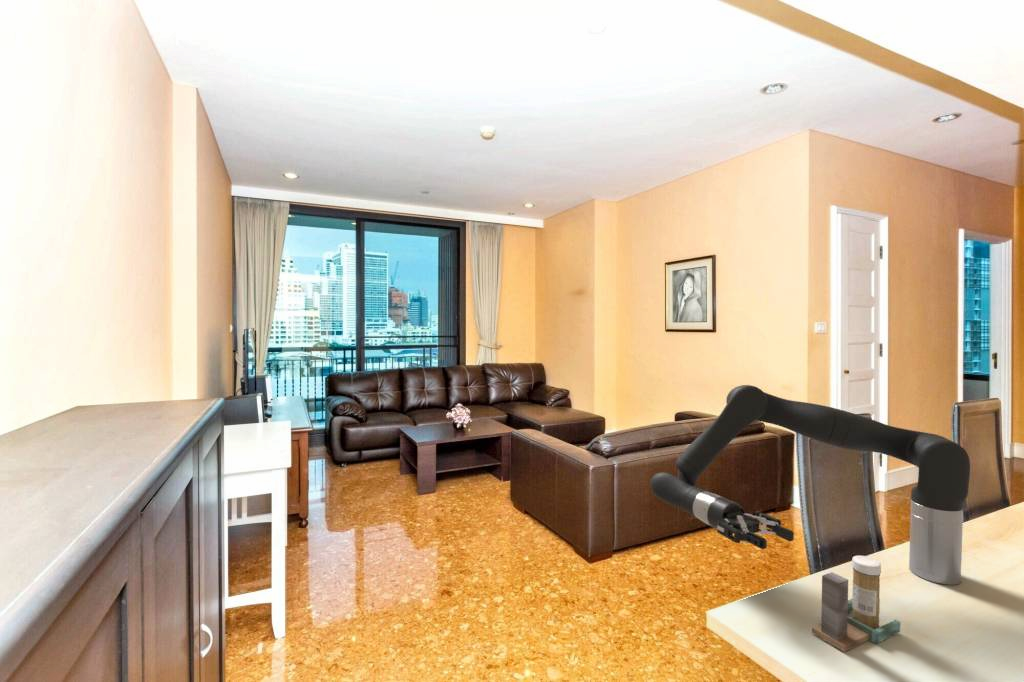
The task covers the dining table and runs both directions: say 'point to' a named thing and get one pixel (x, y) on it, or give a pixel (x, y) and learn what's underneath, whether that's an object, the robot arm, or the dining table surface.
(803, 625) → the dining table surface
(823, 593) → the stand
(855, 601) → the sprinkles bottle
